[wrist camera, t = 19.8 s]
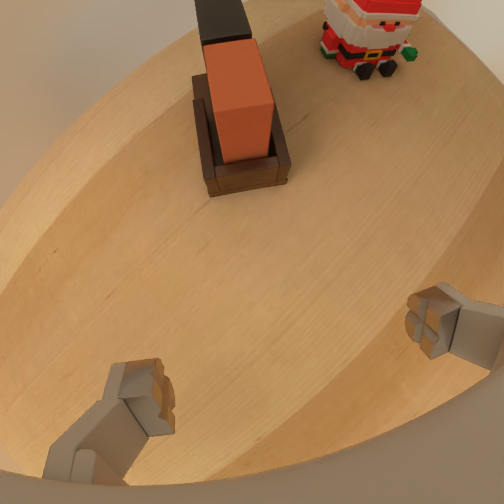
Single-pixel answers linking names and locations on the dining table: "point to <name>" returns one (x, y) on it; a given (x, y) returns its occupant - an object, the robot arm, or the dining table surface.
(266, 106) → the orange rectangular block
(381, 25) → the figurine
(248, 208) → the dining table surface
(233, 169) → the mount
